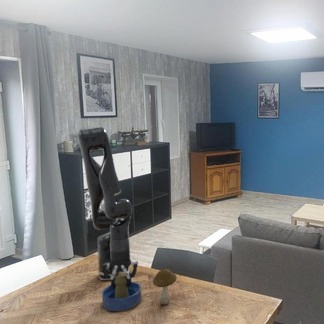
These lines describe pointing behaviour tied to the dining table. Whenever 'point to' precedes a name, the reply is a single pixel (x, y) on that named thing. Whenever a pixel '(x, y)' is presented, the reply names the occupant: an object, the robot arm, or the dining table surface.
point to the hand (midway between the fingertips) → (121, 286)
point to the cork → (121, 287)
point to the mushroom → (164, 283)
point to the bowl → (122, 303)
